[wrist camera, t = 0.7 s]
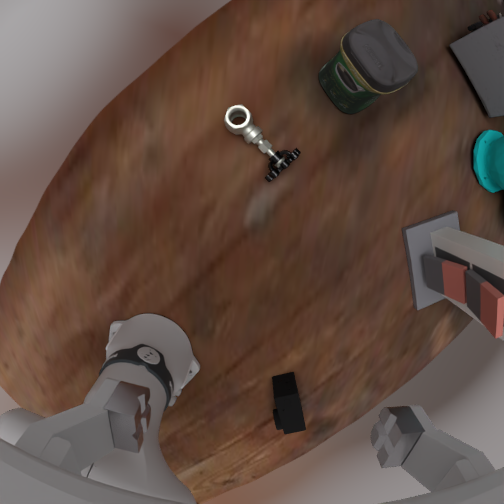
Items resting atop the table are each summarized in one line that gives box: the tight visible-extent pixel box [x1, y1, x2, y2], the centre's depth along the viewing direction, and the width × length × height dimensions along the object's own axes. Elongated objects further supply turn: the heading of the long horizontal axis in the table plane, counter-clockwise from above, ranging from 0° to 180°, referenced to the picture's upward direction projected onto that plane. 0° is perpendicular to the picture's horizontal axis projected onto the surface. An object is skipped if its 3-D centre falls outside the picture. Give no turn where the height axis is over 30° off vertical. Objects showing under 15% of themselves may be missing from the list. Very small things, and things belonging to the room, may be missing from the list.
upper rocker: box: [465, 269, 504, 338], centre depth 34 cm, size 1×6×10 cm, turn 18°
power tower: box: [402, 211, 504, 341], centre depth 40 cm, size 12×16×27 cm
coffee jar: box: [319, 19, 418, 114], centre depth 37 cm, size 10×8×19 cm
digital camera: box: [272, 372, 306, 434], centre depth 56 cm, size 10×5×7 cm, turn 14°
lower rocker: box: [423, 254, 467, 304], centre depth 45 cm, size 1×6×10 cm, turn 18°
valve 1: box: [225, 104, 301, 182], centre depth 45 cm, size 7×7×12 cm
